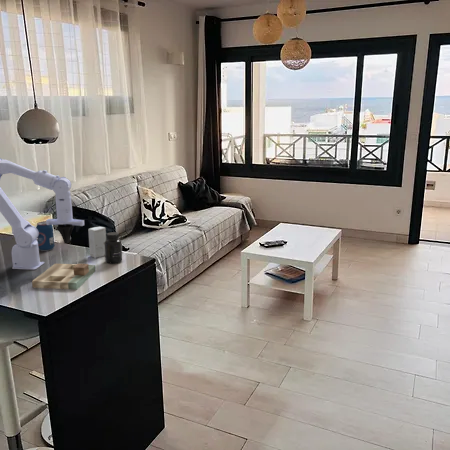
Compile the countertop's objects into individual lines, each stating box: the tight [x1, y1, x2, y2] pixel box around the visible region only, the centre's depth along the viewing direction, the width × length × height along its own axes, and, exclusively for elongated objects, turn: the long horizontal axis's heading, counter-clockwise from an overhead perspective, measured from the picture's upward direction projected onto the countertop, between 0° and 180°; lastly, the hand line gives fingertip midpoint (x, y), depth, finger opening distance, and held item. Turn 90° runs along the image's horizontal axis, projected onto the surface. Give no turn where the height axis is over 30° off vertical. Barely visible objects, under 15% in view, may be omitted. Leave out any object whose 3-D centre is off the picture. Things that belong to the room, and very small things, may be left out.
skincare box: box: [88, 225, 107, 259], centre depth 190 cm, size 6×4×12 cm
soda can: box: [35, 220, 56, 252], centre depth 198 cm, size 7×7×12 cm
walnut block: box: [73, 263, 89, 276], centre depth 164 cm, size 4×4×3 cm
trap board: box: [31, 263, 97, 291], centre depth 165 cm, size 16×18×2 cm
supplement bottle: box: [104, 231, 123, 265], centre depth 182 cm, size 7×7×12 cm
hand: (67, 242), depth 177 cm, fingers closed
